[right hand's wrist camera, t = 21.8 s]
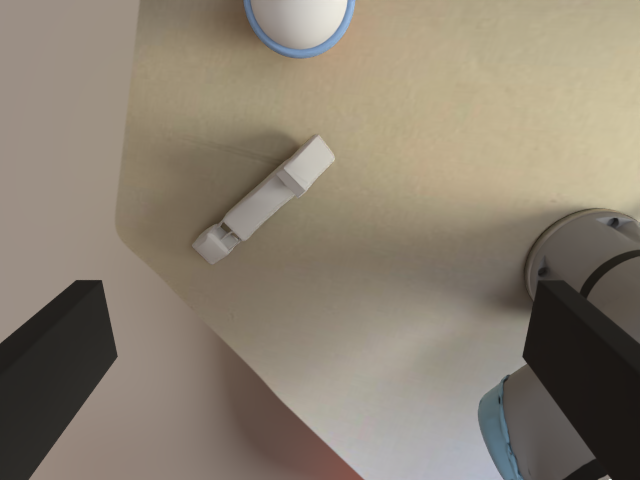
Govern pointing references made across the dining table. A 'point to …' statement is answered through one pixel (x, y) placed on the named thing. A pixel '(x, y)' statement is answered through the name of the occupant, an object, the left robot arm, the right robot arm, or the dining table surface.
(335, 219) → the dining table surface
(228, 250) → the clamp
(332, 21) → the cup with straw
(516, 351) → the dining table surface
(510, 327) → the dining table surface
